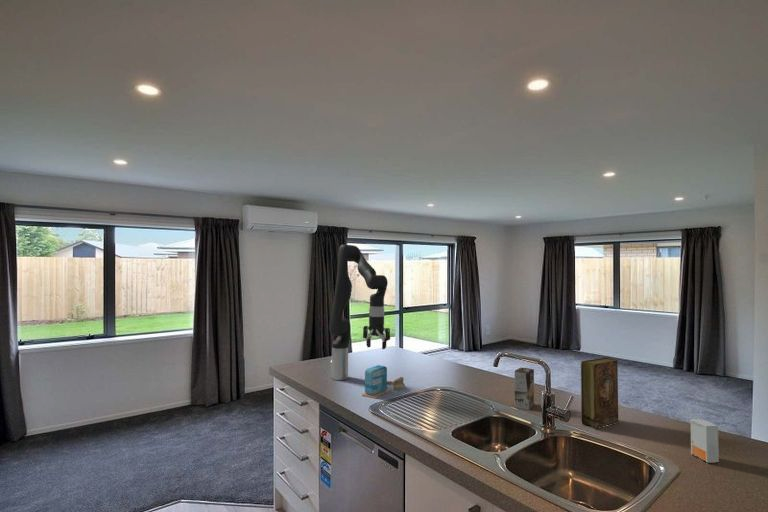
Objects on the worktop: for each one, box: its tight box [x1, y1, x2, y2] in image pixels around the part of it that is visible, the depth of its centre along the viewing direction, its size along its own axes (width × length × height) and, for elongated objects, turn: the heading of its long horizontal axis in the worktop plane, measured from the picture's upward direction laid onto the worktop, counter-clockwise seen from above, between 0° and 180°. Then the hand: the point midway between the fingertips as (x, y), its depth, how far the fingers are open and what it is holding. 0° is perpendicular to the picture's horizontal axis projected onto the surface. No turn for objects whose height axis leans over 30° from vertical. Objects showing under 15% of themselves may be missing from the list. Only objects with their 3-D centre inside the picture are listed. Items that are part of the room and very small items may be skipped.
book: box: [580, 357, 619, 430], centre depth 153 cm, size 16×6×25 cm, turn 117°
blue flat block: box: [364, 364, 388, 395], centre depth 189 cm, size 12×4×12 cm, turn 142°
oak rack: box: [387, 376, 406, 392], centre depth 201 cm, size 16×10×5 cm, turn 61°
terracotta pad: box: [361, 389, 390, 399], centre depth 189 cm, size 8×14×1 cm, turn 151°
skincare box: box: [690, 418, 720, 463], centre depth 124 cm, size 6×4×12 cm
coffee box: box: [514, 367, 535, 411], centre depth 173 cm, size 9×6×16 cm
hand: (376, 348), depth 190 cm, fingers open, 8 cm apart
